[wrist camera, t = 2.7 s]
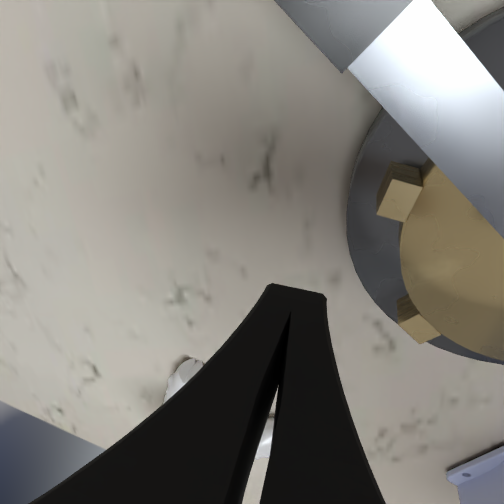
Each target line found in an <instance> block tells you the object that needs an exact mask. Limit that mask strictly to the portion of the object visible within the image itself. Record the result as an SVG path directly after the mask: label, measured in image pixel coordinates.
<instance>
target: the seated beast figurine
mask: <svg viewBox="0 0 504 504" xmlns="http://www.w3.org/2000/svg"><path fill="white" fill-rule="evenodd" d="M202 367H203V364H202V361H195V359H194V358H192V359H189V360H187V361H185V362H183V363H182V364H181V365H180V366H179V367H178V368H177V370H176V372H175V373H174V374H172V375H171V376H170V377H169V379H168V388H167V390H166V394H165V396H164V403H165V402H166V401H167V400H168V399H169V398H171V397H172V396H173V395H174V394H175V393H176V392H177V391H178V390H179V389H180V388H181V387H183V386H184V385H185V384H186V383H187V382H188V381H189V380H190V379H191V378H192V377H193V376H194V375H195V374H196V373H197V372H198V371H199V370H200V369H201V368H202ZM164 403H162V405H163V404H164ZM273 426H274V418H273V417H271V418H268V419H267V422H266V425H265V428H264V431H263V434H262V437H261V440H260V443H259V446H258V449H257V453H256V456H255V459H256V460H258V459H260V458H263V457H265V458H268V457H269V456H270V450H271V442H272V434H273Z"/></svg>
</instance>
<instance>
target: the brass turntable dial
mask: <svg viewBox="0 0 504 504" xmlns="http://www.w3.org/2000/svg"><path fill="white" fill-rule="evenodd" d="M274 1H275V2H276V3H277V4H278V5H279V6H280V7H281V8H282V9H283V10H284V11H285V13H286V14H287V15H288V16H289V17H290V18H291V19H292V20H293V21H294V22H295V23H296V24H297V26H298V27H299V28H300V29H301V30H302V31H303V32H304V33H305V34H306V35H307V36H308V37H309V39H310V40H311V41H312V42H313V43H314V44H315V45H316V46H317V47H318V48H319V49H320V50H321V52H322V53H323V54H324V55H325V56H326V57H327V58H328V59H329V60H330V61H331V62H332V63H333V65H334V66H335V67H336V68H337V69H338V70H339V71H340V72H341V73H343V72H344V71H345V70H346V69H347V68H348V69H349V70H350V71H351V72H352V74H353V75H354V76H355V77H356V78H357V79H358V80H359V81H360V82H361V83H362V85H363V86H364V87H365V88H366V89H367V90H368V91H369V92H370V93H371V94H372V95H373V97H374V98H375V99H376V100H377V101H378V102H379V103H380V104H381V105H382V106H383V107H384V109H385V110H386V111H387V112H388V113H389V114H390V115H391V116H392V117H393V118H394V119H395V121H396V122H397V123H398V124H399V125H400V126H401V127H402V128H403V129H404V130H405V132H406V133H407V134H408V135H409V136H410V137H411V138H412V139H413V140H414V141H415V142H416V144H417V145H418V146H419V147H420V148H421V149H422V150H423V151H424V152H425V153H426V154H427V156H428V157H429V158H428V159H427V160H426V162H425V163H424V164H423V166H422V167H421V168H420V170H419V168H415V167H412V166H408V165H404V164H401V163H397V162H394V161H391V162H390V164H389V167H388V169H387V171H386V174H385V176H384V178H383V180H382V183H381V185H380V187H379V190H378V192H377V194H376V215H380V216H383V217H387V218H390V219H394V220H397V221H399V234H398V236H399V249H400V261H401V273H402V276H403V280H404V284H405V288H406V290H407V292H408V294H407V295H406V296H404V297H402V298H400V299H398V300H397V315H398V325H399V326H400V327H401V328H402V329H403V330H405V331H406V332H407V333H408V334H409V335H410V336H411V337H412V338H413V339H414V340H416V341H417V342H418V343H419V344H422V343H424V342H426V341H429V340H431V339H433V338H435V337H438V336H440V335H441V334H443V335H444V336H446V337H447V338H449V339H450V340H452V341H454V342H455V343H457V344H459V345H461V346H463V347H465V348H467V349H469V350H471V351H474V352H476V353H479V354H482V355H485V356H487V357H491V358H494V359H498V360H502V361H504V91H503V90H502V88H501V87H500V86H499V85H498V84H497V82H496V81H495V80H494V79H493V77H492V76H491V75H490V74H489V72H488V71H487V70H486V69H485V67H484V66H483V65H482V64H481V62H480V61H479V60H478V59H477V57H476V56H475V55H474V54H473V53H472V51H471V50H470V49H469V48H468V46H467V45H466V44H465V43H464V41H463V40H462V39H461V38H460V36H459V35H458V34H457V33H456V31H455V30H454V29H453V28H452V26H451V25H450V24H449V23H448V22H447V20H446V19H445V18H444V17H443V15H442V14H441V13H440V12H439V10H438V9H437V8H436V7H435V5H434V4H433V3H432V2H431V0H274Z"/></svg>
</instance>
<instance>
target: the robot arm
mask: <svg viewBox="0 0 504 504" xmlns="http://www.w3.org/2000/svg"><path fill="white" fill-rule="evenodd" d="M326 302H327V298H326V297H325V296H324V295H323V294H321V293H317V292H312V291H307V290H302V289H298V288H293V287H288V286H284V285H279V284H274V283H271V284H269V285H267V287H266V288H265V290H264V292H263V294H262V295H261V297H260V298H259V300H258V301H257V303H256V304H255V306H254V307H253V308H252V310H251V311H250V312H249V314H248V315H247V316H246V318H245V319H244V320H243V322H242V323H241V324H240V325H239V326H238V328H237V329H236V330H235V331H234V332H233V334H232V335H231V336H230V337H229V338H228V340H227V341H226V342H225V343H224V344H223V345H222V347H221V348H220V349H219V350H218V351H217V352H216V353H215V354H214V355H213V356H212V357H211V358H210V359H209V360H208V361H207V362H206V364H205V365H204V366H203V367H202V368H201V369H200V370H199V371H198V372H197V373H196V374H195V375H194V376H193V377H192V378H191V379H190V380H189V381H188V382H187V383H186V384H185V385H184V386H183V387H181V388H180V389H179V390H178V391H177V392H176V393H175V394H174V395H173V396H172V397H171V398H169V399H168V400H167V401H166V402H165V403H164V404H163V405H162V406H161V407H159V408H158V409H157V410H156V411H155V412H153V413H152V414H151V415H150V416H149V417H147V418H146V419H145V420H144V421H143V422H141V423H140V424H139V425H138V426H137V427H135V428H134V429H133V430H132V431H130V432H129V433H128V434H127V435H125V436H124V437H123V438H122V439H120V440H119V441H118V442H116V443H115V444H114V445H112V446H111V447H110V448H108V449H107V450H106V451H104V452H103V453H101V454H100V455H99V456H97V457H96V458H95V459H93V460H92V461H91V462H89V463H88V464H86V465H85V466H84V467H82V468H81V469H79V470H78V471H76V472H75V473H74V474H72V475H71V476H70V477H68V478H67V479H65V480H64V481H63V482H61V483H60V484H58V485H57V486H55V487H54V488H52V489H51V490H49V491H48V492H46V493H45V494H43V495H41V496H40V497H38V498H37V499H35V500H34V501H32V502H31V503H29V504H242V501H243V496H244V492H245V489H246V485H247V482H248V478H249V475H250V471H251V468H252V465H253V462H254V459H255V456H256V453H257V449H258V446H259V443H260V440H261V437H262V434H263V431H264V428H265V425H266V422H267V419H268V416H269V413H270V409H271V406H272V403H273V400H274V397H275V394H276V391H277V388H278V394H277V402H276V410H275V418H274V426H273V434H272V442H271V450H270V458H269V462H268V467H267V472H266V476H265V481H264V485H263V490H262V495H261V499H260V504H386V503H385V501H384V499H383V496H382V494H381V492H380V489H379V487H378V485H377V482H376V480H375V477H374V475H373V473H372V470H371V468H370V465H369V463H368V460H367V458H366V455H365V453H364V450H363V447H362V445H361V442H360V439H359V437H358V434H357V431H356V428H355V425H354V422H353V420H352V417H351V414H350V410H349V407H348V404H347V401H346V398H345V395H344V391H343V388H342V384H341V381H340V377H339V373H338V369H337V365H336V361H335V357H334V353H333V348H332V343H331V338H330V332H329V326H328V318H327V304H326ZM278 385H279V386H278ZM446 477H447V480H448V481H449V482H451V483H453V484H455V485H457V487H458V493H459V500H460V504H504V446H502V447H500V448H498V449H495V450H493V451H491V452H489V453H487V454H485V455H482V456H480V457H478V458H476V459H474V460H471V461H469V462H467V463H465V464H463V465H460V466H458V467H456V468H454V469H452V470H450V471H448V472H447V473H446Z"/></svg>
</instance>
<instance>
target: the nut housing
mask: <svg viewBox="0 0 504 504" xmlns="http://www.w3.org/2000/svg"><path fill="white" fill-rule="evenodd" d="M458 35H459V36H460V38H461V39H462V40H463V41H464V43H465V44H466V45H467V46H468V48H469V49H470V50H471V51H472V53H473V54H474V55H475V56H476V57H477V59H478V60H479V61H480V62H481V64H482V65H483V66H484V67H485V69H486V70H487V71H488V72H489V74H490V75H491V76H492V77H493V79H494V80H495V81H496V82H497V84H498V85H499V86H500V87H501V88H502V90H503V91H504V7H503V8H501V9H499V10H497V11H495V12H493V13H491V14H489V15H487V16H485V17H484V18H482V19H480V20H479V21H477V22H476V23H474V24H473V25H471V26H470V27H468V28H467V29H465V30H463V31H462V32H460V33H459V34H458ZM428 158H429V157H428V156H427V154H426V153H425V152H424V151H423V150H422V149H421V148H420V147H419V146H418V145H417V144H416V142H415V141H414V140H413V139H412V138H411V137H410V136H409V135H408V134H407V133H406V132H405V130H404V129H403V128H402V127H401V126H400V125H399V124H398V123H397V122H396V121H395V119H394V118H393V117H392V116H391V115H390V114H389V113H388V112H387V111H386V110H385V109H384V107H383V108H382V109H381V111H380V113H379V114H378V116H377V118H376V119H375V121H374V122H373V124H372V126H371V127H370V129H369V131H368V133H367V135H366V137H365V140H364V142H363V144H362V146H361V148H360V151H359V153H358V156H357V159H356V163H355V166H354V170H353V173H352V177H351V184H350V191H349V198H348V206H347V239H348V245H349V251H350V255H351V258H352V261H353V264H354V267H355V270H356V273H357V275H358V276H359V278H360V280H361V282H362V284H363V286H364V288H365V289H366V291H367V292H368V294H369V295H370V296H371V298H372V299H373V300H374V302H375V303H376V304H377V305H378V306H379V307H380V308H381V309H382V310H383V311H384V313H385V314H386V315H387V316H388V317H390V318H391V319H392V320H393V321H395V322H396V323H397V324H398V315H397V300H398V299H400V298H402V297H404V296H406V295H407V294H408V292H407V290H406V288H405V284H404V280H403V276H402V273H401V261H400V249H399V236H398V234H399V221H397V220H394V219H390V218H387V217H383V216H380V215H376V194H377V192H378V190H379V187H380V185H381V183H382V180H383V178H384V176H385V174H386V171H387V169H388V167H389V164H390V162H391V161H394V162H397V163H401V164H404V165H408V166H412V167H415V168H419V170H420V168H421V167H422V166H423V164H424V163H425V162H426V160H427V159H428ZM426 342H428V343H430V344H432V345H434V346H436V347H438V348H441V349H444V350H446V351H449V352H452V353H454V354H457V355H461V356H464V357H468V358H472V359H476V360H480V361H485V362H491V363H497V364H502V365H504V361H502V360H498V359H494V358H491V357H487V356H485V355H482V354H479V353H476V352H474V351H471V350H469V349H467V348H465V347H463V346H461V345H459V344H457V343H455V342H454V341H452V340H450V339H449V338H447V337H446V336H444V335H443V334H441V335H440V336H438V337H435V338H433V339H431V340H429V341H426Z"/></svg>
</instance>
